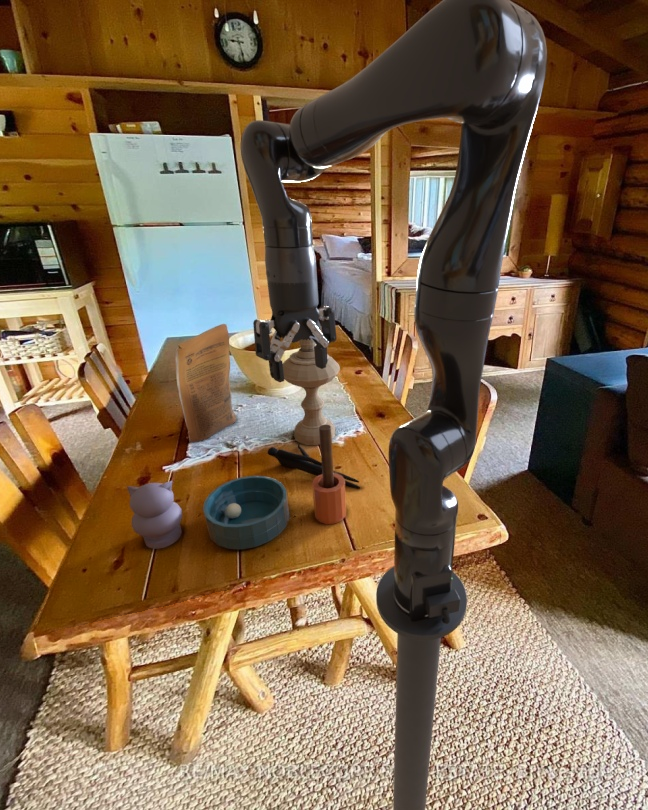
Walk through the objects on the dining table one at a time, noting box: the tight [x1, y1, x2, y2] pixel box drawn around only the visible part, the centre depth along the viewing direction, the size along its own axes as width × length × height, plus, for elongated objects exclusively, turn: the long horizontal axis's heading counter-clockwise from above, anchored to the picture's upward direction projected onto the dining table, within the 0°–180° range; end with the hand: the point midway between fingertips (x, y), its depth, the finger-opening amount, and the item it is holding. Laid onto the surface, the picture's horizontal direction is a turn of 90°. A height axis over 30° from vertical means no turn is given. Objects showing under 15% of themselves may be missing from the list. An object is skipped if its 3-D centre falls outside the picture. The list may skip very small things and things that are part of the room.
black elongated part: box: [267, 443, 361, 490], centre depth 104 cm, size 8×9×25 cm
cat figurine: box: [126, 480, 183, 550], centre depth 82 cm, size 8×8×12 cm
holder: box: [311, 473, 347, 525], centre depth 89 cm, size 6×6×8 cm
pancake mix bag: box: [174, 323, 237, 443], centre depth 115 cm, size 7×19×28 cm, turn 155°
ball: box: [225, 503, 241, 519], centre depth 88 cm, size 3×3×3 cm
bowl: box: [202, 475, 290, 550], centre depth 87 cm, size 15×15×6 cm
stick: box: [319, 425, 335, 489], centre depth 86 cm, size 2×2×20 cm
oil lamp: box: [283, 320, 341, 446], centre depth 110 cm, size 15×15×40 cm
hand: (300, 373), depth 75 cm, fingers open, 8 cm apart
